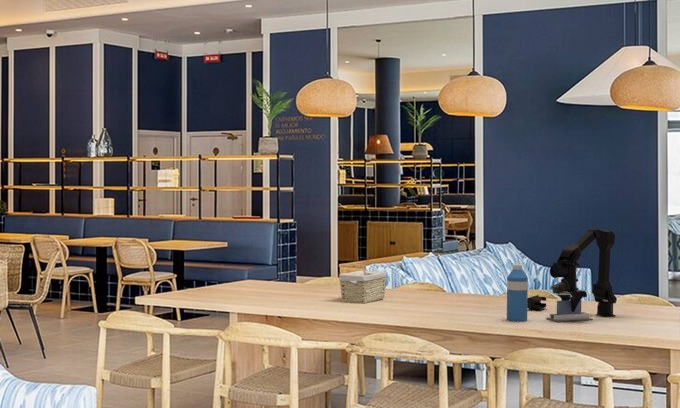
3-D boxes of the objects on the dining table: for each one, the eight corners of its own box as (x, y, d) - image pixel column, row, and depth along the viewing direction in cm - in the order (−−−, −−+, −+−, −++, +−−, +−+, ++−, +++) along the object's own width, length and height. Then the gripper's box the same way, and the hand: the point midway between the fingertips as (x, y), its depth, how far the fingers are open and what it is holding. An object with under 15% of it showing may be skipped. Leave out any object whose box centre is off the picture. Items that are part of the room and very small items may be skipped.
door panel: (579, 317, 429) (579, 299, 428) (581, 317, 427) (581, 300, 427) (556, 318, 424) (556, 300, 424) (558, 319, 423) (558, 301, 423)
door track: (579, 317, 434) (579, 311, 434) (592, 320, 424) (592, 314, 424) (546, 319, 427) (546, 313, 427) (558, 322, 418) (558, 316, 418)
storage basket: (364, 304, 478) (364, 275, 477) (337, 302, 486) (337, 273, 486) (387, 299, 498) (387, 271, 498) (361, 297, 506) (361, 269, 506)
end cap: (532, 308, 465) (532, 294, 465) (546, 309, 461) (546, 295, 461) (525, 310, 457) (525, 296, 457) (539, 311, 453) (539, 297, 453)
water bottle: (524, 318, 429) (525, 264, 428) (529, 321, 420) (530, 265, 419) (504, 318, 429) (505, 263, 428) (508, 321, 419) (509, 265, 419)
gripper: (543, 275, 431) (542, 309, 432) (566, 279, 414) (566, 314, 414) (563, 274, 435) (563, 308, 435) (587, 278, 418) (587, 313, 418)
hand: (569, 311), depth 426 cm, fingers open, 5 cm apart
